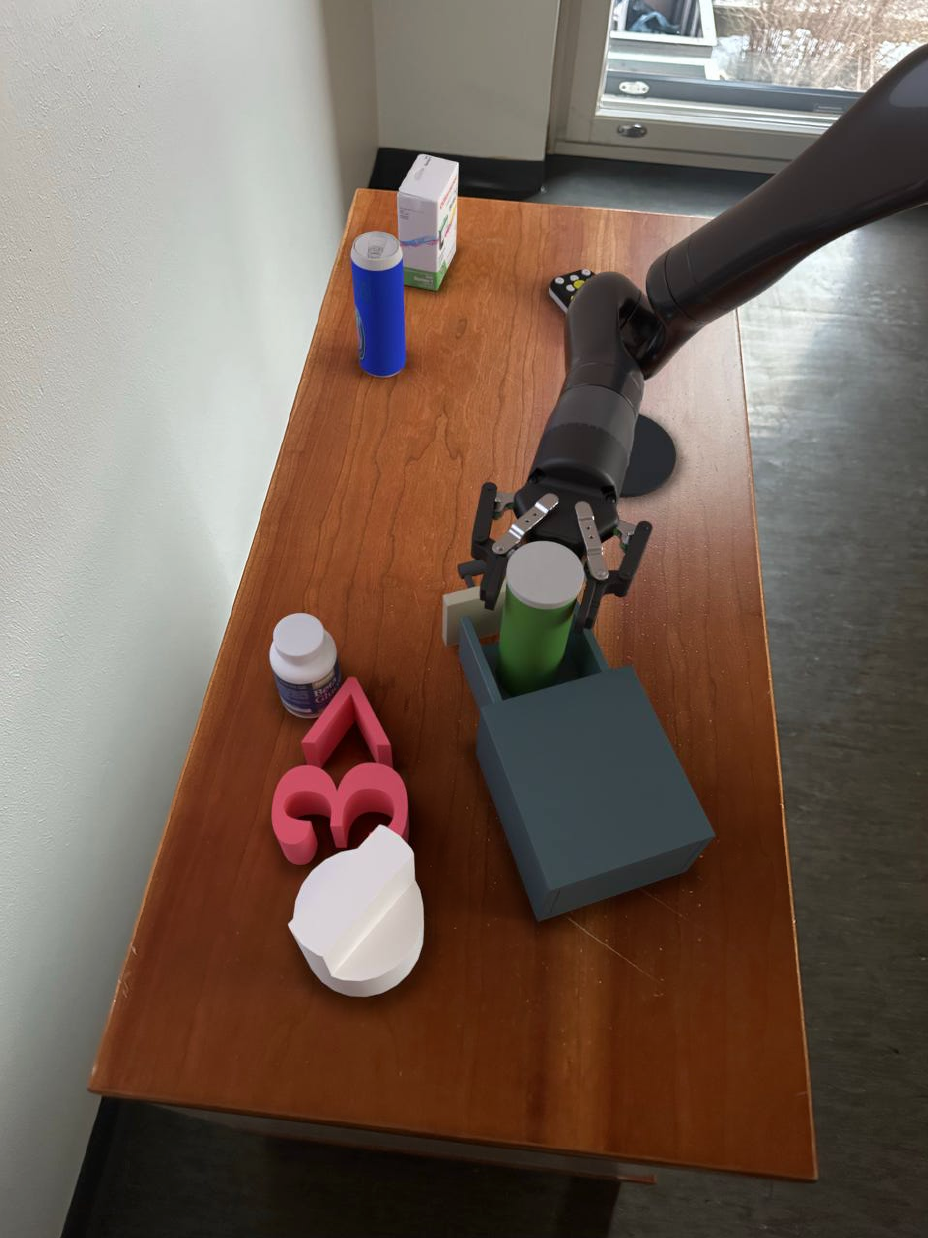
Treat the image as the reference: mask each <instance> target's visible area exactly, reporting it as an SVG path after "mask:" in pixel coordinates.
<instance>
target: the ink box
mask: <svg viewBox="0 0 928 1238" xmlns="http://www.w3.org/2000/svg"><path fill="white" fill-rule="evenodd" d="M459 164H460V163H459V162H458V161H453V160H449V159H445V158H442V157H436V156H433V155H429V154H425V153H420V154H418V155H417V157H416V159H415V160H414V161H413V163H412V165H411V167H410V169H409V170H408V172H407V174H406V176H405V178H404V179H403V181H402V183H401V185H400V187H398V192H397V195H396V202H397V230H398V241H399V244H400V247H401V249H402V252H403V277H404V286H409V287H414V288H419V289H423V290H427V291H428V290H429V291H434V292H437V291H438V290H439V288H440V286H441V284H442V281H443V280H444V277H445V275H446V273H447V272H448V269H449V267H450V264H451V262H452V260H453V258H454V256H455V253H456V252H457V225H458V224H457V223H458V222H457V221H458V194H459V193H458V191H459V188H458V187H459V167H460V165H459Z"/></svg>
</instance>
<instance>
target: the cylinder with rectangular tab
mask: <svg viewBox="0 0 928 1238" xmlns="http://www.w3.org/2000/svg"><path fill="white" fill-rule="evenodd" d="M387 827H388V826H386V825H383V824H378V825H377V827H375V828H374V830H373V831H371V832H372V833H371V834H370V836H369V835H368V837H367V838H365V839H364V841H363V842H362V843H361V844H360V845H359V846H358V847H357V848H354V849H350V850H344V851H340V852H338V853H335V854H334V855H332V856H330V857H328V858H325V859H324V860H323V861H322V862H320V863H319V864H318V865H317V866H316V867H315V868H313V869H312V870H311V872H310V873H309V875H307V877H306V878H305V880H304V881H303V882H302V884H301V886H300V888H299V892H298V894H297V896H296V898H295V902H294V907H293V908H294V909H293V916H292V919H291V920H290V922H288V923H287V926H288V928H289V930H290V932H291V934H292V936H293V937H294V939H295V941H296V943H297V945H298V947H299V948H300V950H301V952H302V954H303V956H304V958H305V959H306V961H307V964H308V965H309V968H310V969H311V971H312V972H313V973H314V974H315V975H316V977H317V978H318V979H319V980H320V982H321V983H323V984H324V985H325V986H327V987H328V988H329V989H331V990H332V991H334V992H337V993H338V994H339V993H340V994H342V995H345V996H347V997H356V998H357V997H358V998H368V997H372V996H375V995H380V994H384V993H385V992H388V991H389V990H391V989H393V988H395V987H396V986H398V985H399V984H400V983H401V982H402V981H403V980H404V979H405V978H407V976H408V975H410V973H411V971H412V970H413V968H414V967H415V965H416V963H417V962H418V960H419V957H420V954H421V951H422V948H423V945H424V934H425V933H424V931H425V923H424V922H425V920H424V919H425V916H424V915H425V914H424V903H423V898H422V893H421V889H420V887H419V885H418V883H417V881H416V873H415V872H416V871H415V853H414V851H413V849H412V848H411V846H410V845H409V844H407V843H406V842H405V841H404V840H403V839H402V838H401V837H400V835H398V834H396V833H395V832H393V831H392V830H390V829H389V828H387Z"/></svg>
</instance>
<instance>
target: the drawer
mask: <svg viewBox="0 0 928 1238" xmlns="http://www.w3.org/2000/svg"><path fill="white" fill-rule="evenodd" d="M456 566H457V573H458V576H459V578H460V579H461V580H464V583H465V585H466V587H467V588H465V589H461V590H457V591H454V592H450V593H446V594H443V595H442V627H441V628H442V629H441V631H442V632H441V634H442V635H441V638H442V640H443V641H442V642H443V643H444V646H445V648H450V647H453V646H457V645H458V659H459V662H460V664H461V667H462V670H463V673H464V675H465V678H466V680H467V682H468V683H467V684H468V685H469V688H470V691H471V693H472V696H473V698H474V701H475V704H476V707H477V709H478V712H479V713H480V707H482V706H486V705H489V704H493V703H496V702H500V701H503V700H507V699H510V698H514V696H512V695H510V694H509V693H507V692H506V691H505V690H504V689H503V688H502V687H501V686H500V684H499V682H498V680H497V677H496V662H497V654H498V646H499V640H498V641H495V642H491V643H488V644H484V645H482V644H481V642H480V640H479V639H483V638H487V637H491V636H494V635H499V634H500V630H501V622H502V614H503V607H504V599H505V591H506V583H507V580H506V578H504V581H503V584H502V587H501V590H500V593H499V596H498V599H497V602H496V605H495V608H494V611H491V610H488V609H484V606H485V601H481V600H480V596H479V592H480V585H476V583H475V581H474V578H473V577H477V576H481V575H483V574H484V571H485V568H486V566H487V563H486V562H485V561H483V560H475V559H473V560H469V561H465V562H461V563H458V564H457V565H456ZM578 599H579V598H577V602H576V606H575V610H574V614H573V618H572V622H571V626H570V630H569V634H568V638H567V642H566V646H565V650H564V654H563V658H562V662H561V666H560V670H559V674H558V678H557V682H556V684H555V686H556V685H559V684H563V683H566V682H570V681H573V680H577V679H580V678H584V677H587V676H591V675H594V674H598V673H601V672H605V671H608V670H612V669H611V666H610V664H609V662H608V660H607V658H606V656H605V654H604V652H603V650H602V647H601V646H600V643H599V641H598V640H597V637H596V635H595V633H594V631H593V628H591V630H590V629H586V628H584V629H583V633H582V635H580V634H577V633H573V630H574V626H575V623H576V619H577V615H578V611H579V608H580V604H581V603H580V602H579V600H578Z"/></svg>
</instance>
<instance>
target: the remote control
mask: <svg viewBox="0 0 928 1238" xmlns="http://www.w3.org/2000/svg"><path fill="white" fill-rule="evenodd" d="M596 274H597V273H595V272H593V271H592V270H590V269H589V268H588V269H587V268H583V269H578V270H575V271H571V272H567V273H565V274H562V275H558V276H556V277H554V278H553V279H552V280H551V281H550V283H549V286H548V287H549V288H548V291H549V292H548V293H549V296H550V297H551V298H552V300H553V301H554V302H555V303H556V304H557V305H558V307H559V308H560V309H561V310H562V311H563V312H564V314H565V315H566V314H567V310H568V308H569V305H570V302H571V300H572V298H573V296H574V295H575V293H576V291H577V290H578V289H579V287H580V286H581V285H582V284H583V283H584V282H585V281H586V280H588V279H589V278H590V277H592V276H594V275H596Z"/></svg>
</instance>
